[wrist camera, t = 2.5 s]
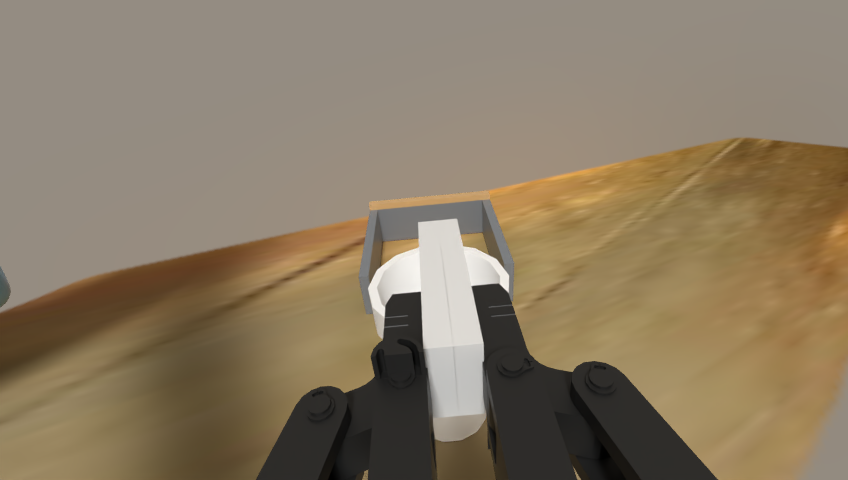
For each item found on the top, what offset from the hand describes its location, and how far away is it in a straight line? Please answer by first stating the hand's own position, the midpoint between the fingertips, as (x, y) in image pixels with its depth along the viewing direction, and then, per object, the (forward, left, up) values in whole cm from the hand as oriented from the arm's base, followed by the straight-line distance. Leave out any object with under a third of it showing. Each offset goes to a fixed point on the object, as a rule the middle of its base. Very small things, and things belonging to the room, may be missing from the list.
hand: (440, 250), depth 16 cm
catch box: (0, +29, -21) cm, 36 cm away
